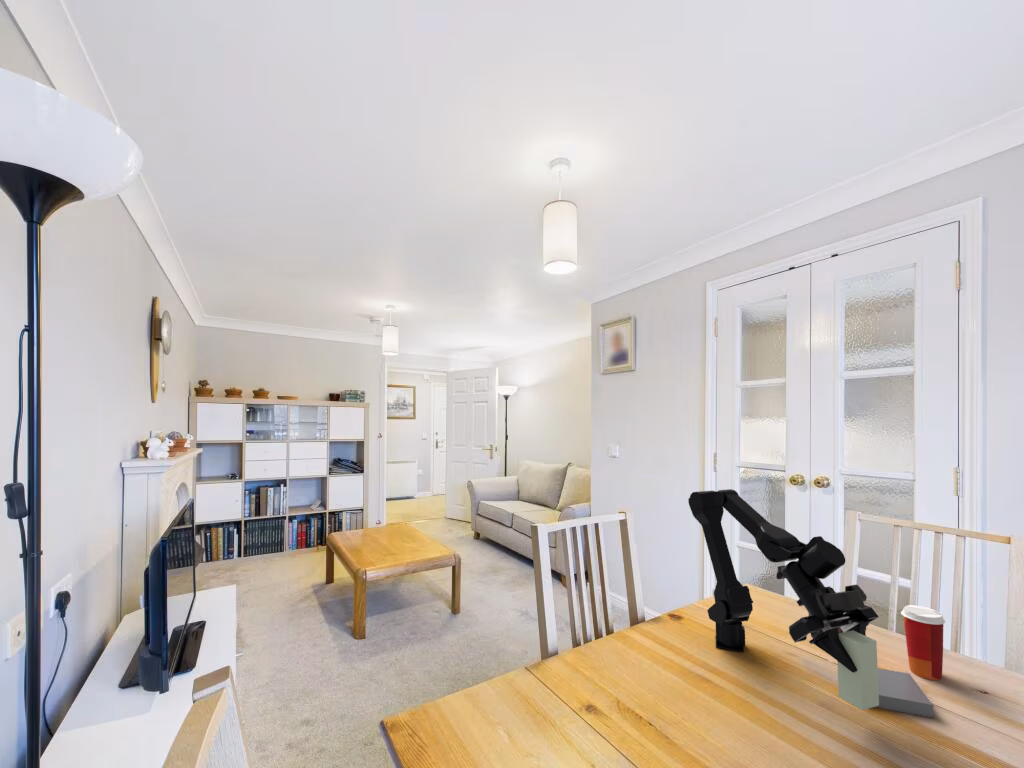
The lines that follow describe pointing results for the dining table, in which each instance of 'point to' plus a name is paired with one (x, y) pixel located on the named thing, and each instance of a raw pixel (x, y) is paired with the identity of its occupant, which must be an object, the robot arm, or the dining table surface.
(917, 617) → the paper cup
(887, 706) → the slate slab
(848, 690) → the sage block
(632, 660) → the dining table surface
